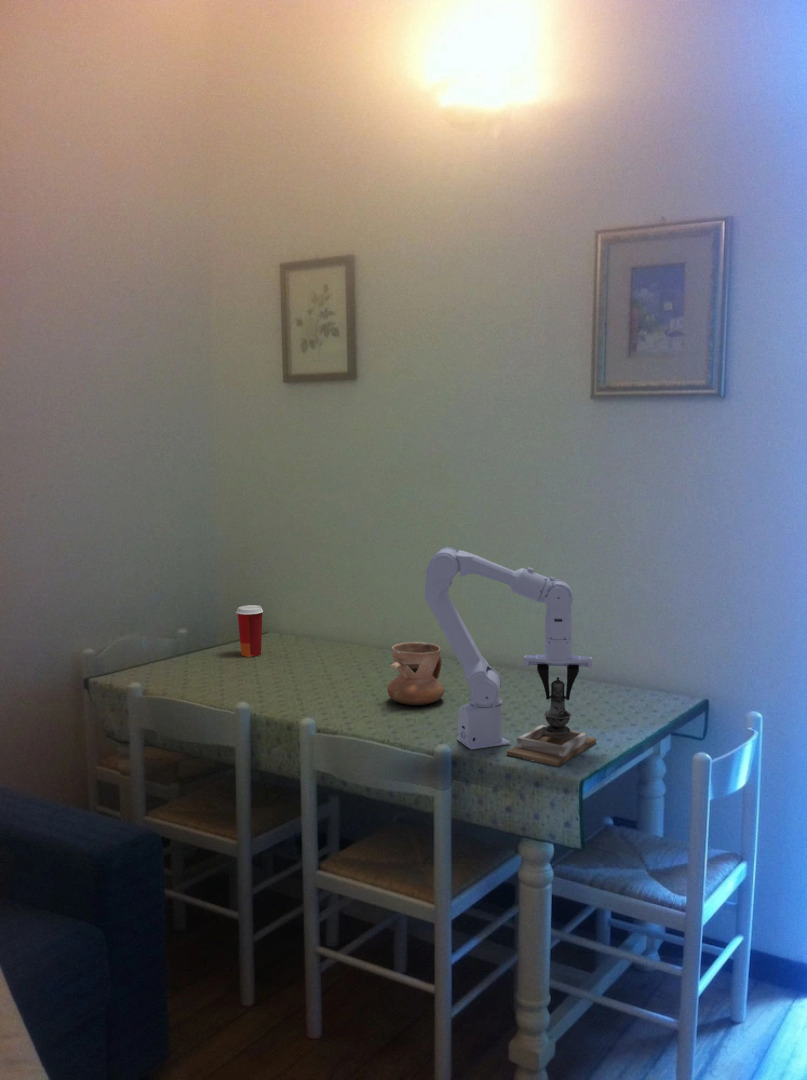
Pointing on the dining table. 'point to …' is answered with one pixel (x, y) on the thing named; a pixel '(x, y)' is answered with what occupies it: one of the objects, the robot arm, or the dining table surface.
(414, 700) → the ceramic jug
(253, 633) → the coffee cup
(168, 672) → the dining table surface
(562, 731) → the salt shaker
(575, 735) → the board
